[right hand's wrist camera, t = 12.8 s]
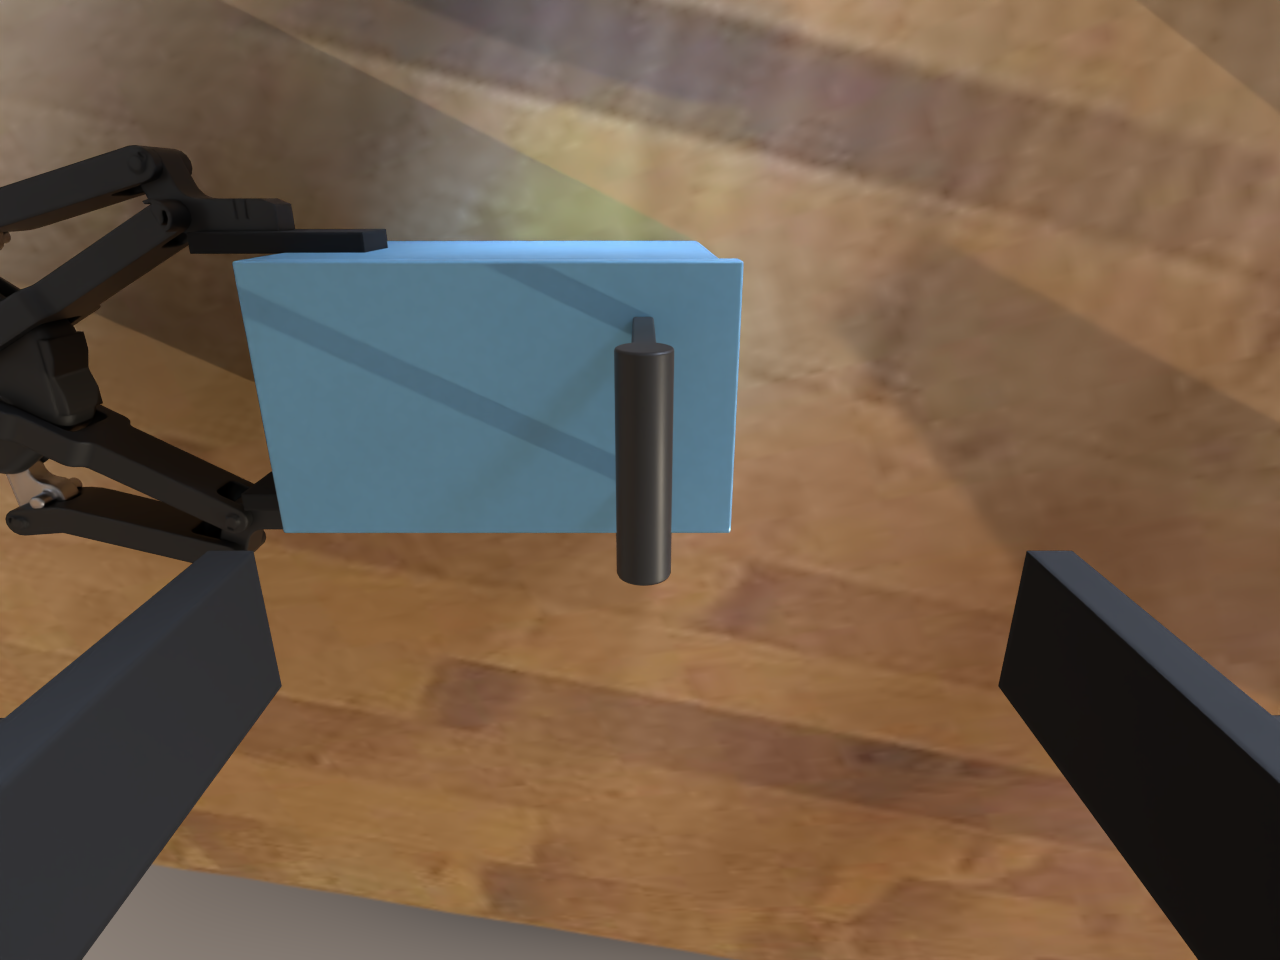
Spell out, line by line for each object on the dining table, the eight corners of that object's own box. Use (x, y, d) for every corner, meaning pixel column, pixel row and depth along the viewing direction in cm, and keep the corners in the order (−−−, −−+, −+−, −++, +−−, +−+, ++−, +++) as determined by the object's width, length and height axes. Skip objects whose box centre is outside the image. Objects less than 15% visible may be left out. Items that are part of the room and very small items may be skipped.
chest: (697, 240, 35) (718, 258, 25) (691, 438, 38) (709, 520, 28) (357, 241, 35) (248, 258, 25) (383, 438, 38) (296, 520, 28)
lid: (739, 258, 25) (782, 285, 17) (727, 521, 28) (758, 636, 21) (247, 258, 25) (80, 285, 17) (296, 521, 28) (173, 637, 21)
